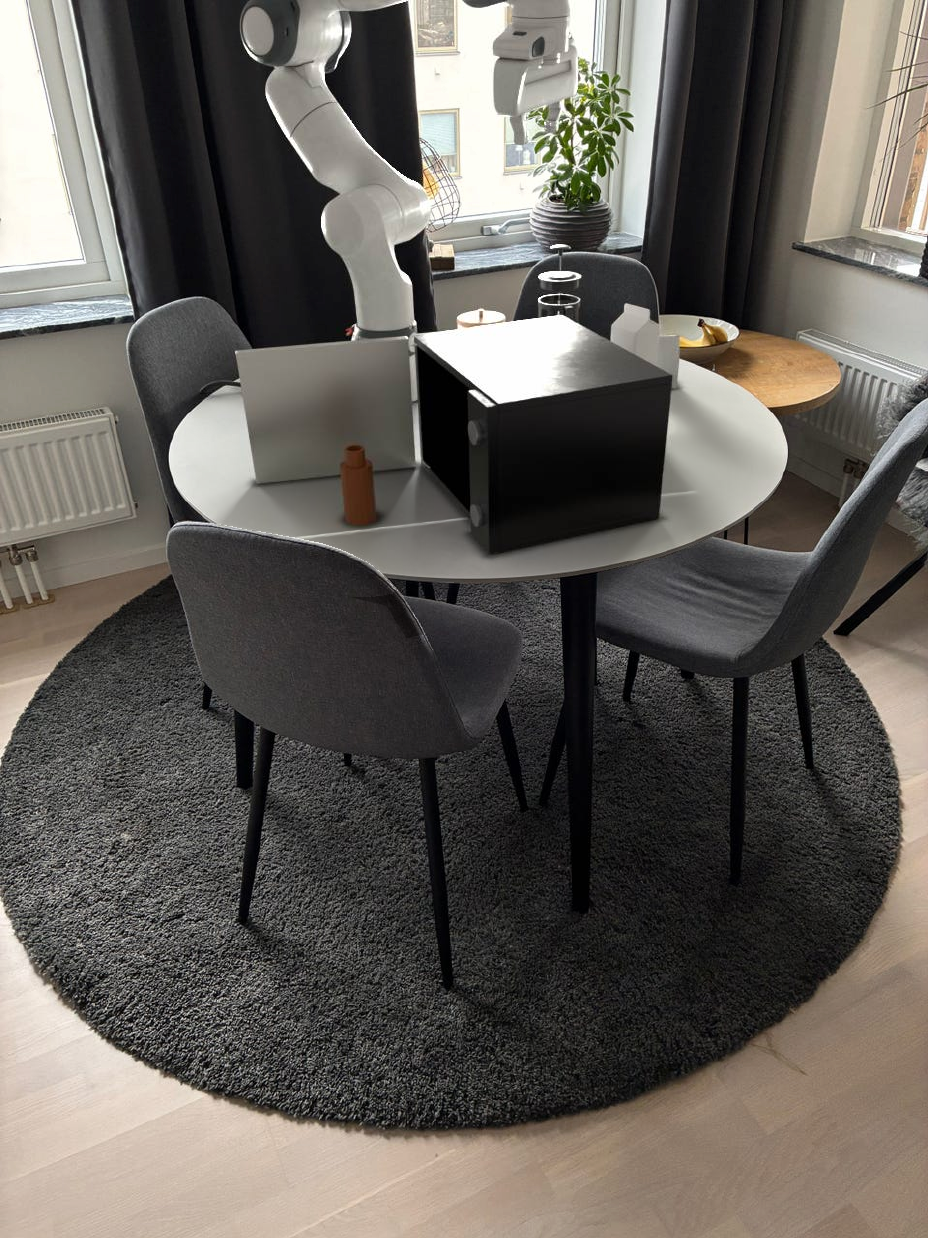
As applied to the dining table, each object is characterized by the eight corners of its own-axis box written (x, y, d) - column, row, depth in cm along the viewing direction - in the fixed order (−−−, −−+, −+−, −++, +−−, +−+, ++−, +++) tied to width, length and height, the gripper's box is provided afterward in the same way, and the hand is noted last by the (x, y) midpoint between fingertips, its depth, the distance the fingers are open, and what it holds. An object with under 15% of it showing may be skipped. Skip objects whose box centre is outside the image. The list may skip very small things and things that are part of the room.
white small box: (676, 387, 188) (681, 338, 182) (642, 389, 188) (646, 339, 182) (672, 381, 191) (677, 332, 185) (639, 383, 191) (643, 333, 185)
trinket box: (511, 346, 214) (511, 304, 209) (497, 360, 206) (496, 317, 200) (466, 343, 217) (465, 301, 212) (451, 357, 209) (449, 314, 203)
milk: (628, 439, 167) (637, 313, 154) (604, 429, 171) (611, 306, 158) (652, 430, 170) (662, 306, 157) (628, 420, 174) (636, 299, 161)
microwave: (484, 556, 132) (481, 406, 120) (407, 467, 159) (399, 337, 147) (659, 518, 140) (672, 374, 128) (558, 439, 167) (562, 314, 155)
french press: (529, 350, 211) (530, 242, 199) (568, 345, 213) (571, 238, 201) (548, 365, 202) (550, 253, 189) (588, 360, 204) (593, 249, 191)
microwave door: (256, 467, 160) (235, 340, 148) (409, 451, 164) (401, 326, 152) (256, 484, 154) (235, 353, 142) (415, 466, 158) (408, 338, 147)
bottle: (339, 522, 142) (331, 451, 136) (356, 509, 146) (349, 440, 139) (366, 528, 140) (359, 456, 134) (382, 515, 144) (376, 444, 138)
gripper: (555, 27, 150) (551, 123, 158) (485, 44, 136) (485, 148, 145) (590, 29, 147) (584, 127, 155) (522, 47, 134) (520, 153, 142)
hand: (536, 137), depth 150 cm, fingers open, 8 cm apart
